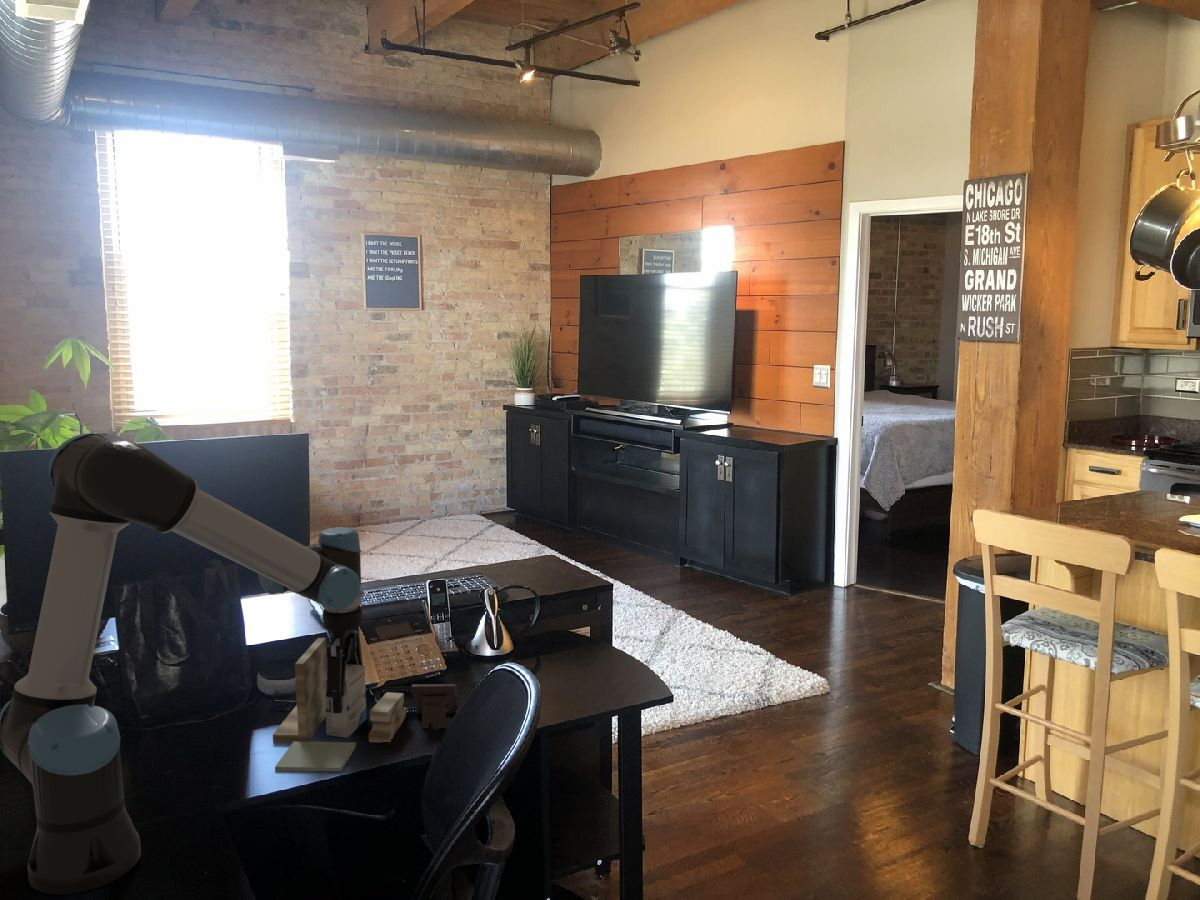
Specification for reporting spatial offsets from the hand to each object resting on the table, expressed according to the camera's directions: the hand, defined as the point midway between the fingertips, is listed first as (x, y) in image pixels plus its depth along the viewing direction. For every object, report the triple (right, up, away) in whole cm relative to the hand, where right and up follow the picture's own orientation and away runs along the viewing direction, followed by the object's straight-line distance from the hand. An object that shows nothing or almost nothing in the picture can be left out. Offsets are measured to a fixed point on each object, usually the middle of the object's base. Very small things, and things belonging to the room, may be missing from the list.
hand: (346, 715), depth 194 cm
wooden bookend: (-9, -2, +1) cm, 9 cm away
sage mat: (-2, -5, -12) cm, 13 cm away
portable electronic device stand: (+17, -2, +4) cm, 18 cm away
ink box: (0, -3, 0) cm, 3 cm away
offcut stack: (+8, -3, 0) cm, 9 cm away
